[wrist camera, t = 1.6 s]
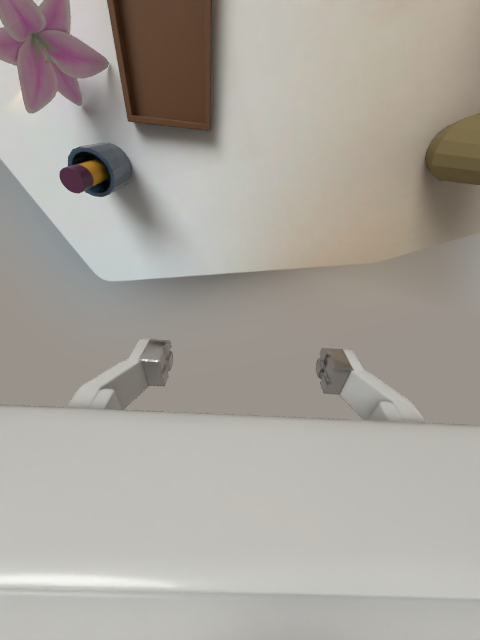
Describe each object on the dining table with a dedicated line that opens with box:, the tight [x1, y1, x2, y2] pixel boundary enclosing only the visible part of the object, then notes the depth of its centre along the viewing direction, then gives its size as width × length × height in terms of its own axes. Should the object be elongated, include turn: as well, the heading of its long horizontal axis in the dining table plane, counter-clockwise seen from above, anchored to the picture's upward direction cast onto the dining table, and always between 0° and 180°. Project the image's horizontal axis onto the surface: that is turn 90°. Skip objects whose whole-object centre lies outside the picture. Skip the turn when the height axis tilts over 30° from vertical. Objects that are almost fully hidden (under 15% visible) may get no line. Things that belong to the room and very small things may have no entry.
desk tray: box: [107, 0, 212, 131], centre depth 28 cm, size 16×11×2 cm
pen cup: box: [68, 143, 132, 197], centre depth 34 cm, size 6×6×8 cm
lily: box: [0, 0, 109, 113], centre depth 26 cm, size 12×12×10 cm
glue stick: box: [60, 158, 111, 193], centre depth 32 cm, size 3×3×12 cm
